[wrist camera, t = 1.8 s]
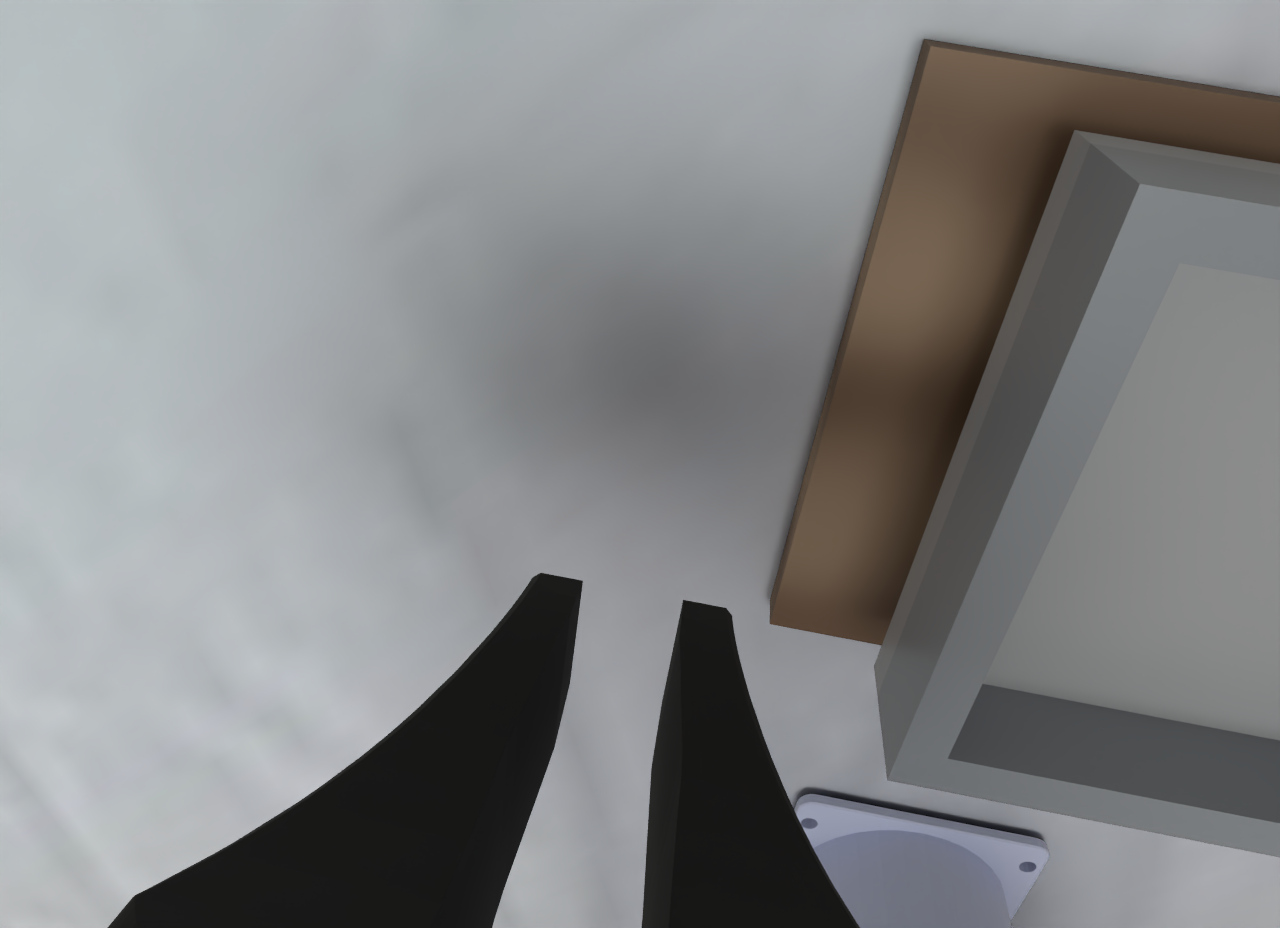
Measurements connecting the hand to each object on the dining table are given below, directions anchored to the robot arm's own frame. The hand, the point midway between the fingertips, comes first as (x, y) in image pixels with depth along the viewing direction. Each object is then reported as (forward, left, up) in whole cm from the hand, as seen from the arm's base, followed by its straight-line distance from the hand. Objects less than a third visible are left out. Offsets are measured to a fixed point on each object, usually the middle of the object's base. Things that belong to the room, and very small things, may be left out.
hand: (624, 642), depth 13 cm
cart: (0, -12, -9) cm, 15 cm away
